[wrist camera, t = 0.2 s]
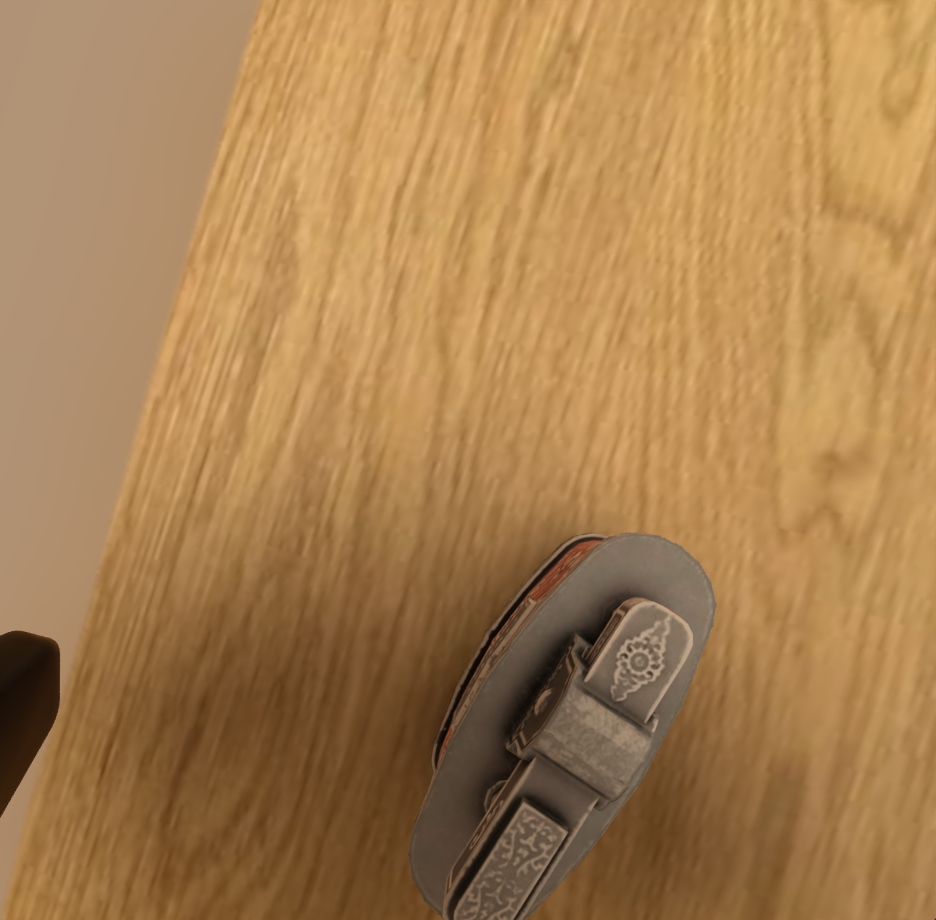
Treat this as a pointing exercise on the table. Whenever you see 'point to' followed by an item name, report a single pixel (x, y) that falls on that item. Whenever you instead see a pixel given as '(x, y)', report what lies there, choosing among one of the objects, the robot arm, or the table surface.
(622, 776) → the lighter
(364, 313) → the table surface
